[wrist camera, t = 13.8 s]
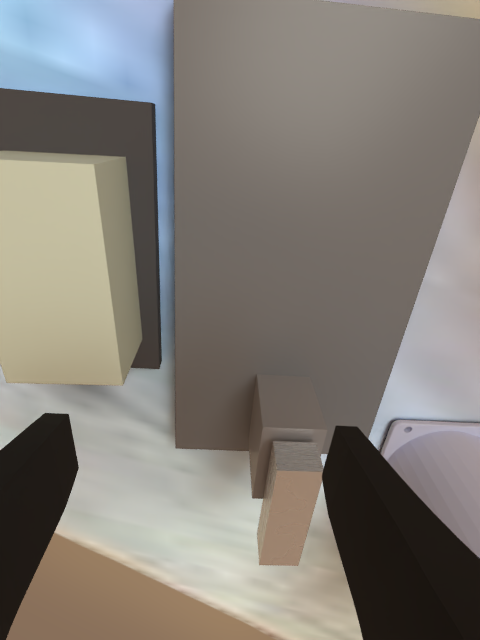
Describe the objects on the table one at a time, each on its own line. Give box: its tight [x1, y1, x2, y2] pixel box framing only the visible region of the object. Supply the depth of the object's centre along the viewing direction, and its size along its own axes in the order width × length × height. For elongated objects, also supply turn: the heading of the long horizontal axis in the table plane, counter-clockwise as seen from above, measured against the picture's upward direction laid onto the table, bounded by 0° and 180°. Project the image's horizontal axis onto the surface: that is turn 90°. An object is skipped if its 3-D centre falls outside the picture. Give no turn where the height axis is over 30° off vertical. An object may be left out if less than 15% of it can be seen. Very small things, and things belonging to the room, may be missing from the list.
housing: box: [174, 0, 480, 499], centre depth 16 cm, size 12×22×6 cm, turn 175°
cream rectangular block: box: [0, 151, 142, 386], centre depth 15 cm, size 5×9×4 cm, turn 177°
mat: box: [0, 88, 162, 369], centre depth 17 cm, size 8×13×1 cm, turn 175°
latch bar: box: [257, 441, 323, 566], centre depth 17 cm, size 2×7×2 cm, turn 175°
